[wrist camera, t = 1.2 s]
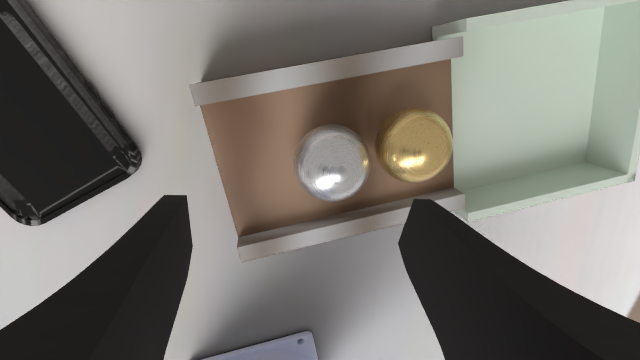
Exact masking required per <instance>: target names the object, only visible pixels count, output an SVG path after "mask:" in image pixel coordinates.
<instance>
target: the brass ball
mask: <svg viewBox="0 0 640 360" xmlns="http://www.w3.org/2000/svg"><path fill="white" fill-rule="evenodd" d="M452 150H453V138H452V134H451V131H450V129H449V127H448V125H447V124H446V122H445V121H444V120H443V119H442V118H441V117H440V116H439V115H437V114H436V113H434V112H432V111H430V110H427V109H424V108H407V109H403V110H400V111H398V112H396V113H394V114H392V115H391V116H390V117H388V118H387V119H386V120H385V121H384V123H383V124H382V125H381V127H380V129H379V131H378V133H377V136H376V140H375V152H376V156H377V159H378V162H379V164H380V165H381V167H382V168H383V169H384V171H385V172H386V173H387V174H389V175H390V176H391V177H393V178H395V179H397V180H399V181H403V182H407V183H419V182H423V181H427V180H429V179H431V178H433V177H435V176H436V175H438V174H439V173H440V172H441V171H442V170H443V169H444V168H445V166H446V165H447V164H448V162H449V160H450V157H451V154H452Z"/></svg>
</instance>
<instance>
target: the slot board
mask: <svg viewBox="0 0 640 360" xmlns="http://www.w3.org/2000/svg"><path fill="white" fill-rule="evenodd" d="M457 57H463V36H460V37H454V38H448V39H442V40H435V41H429V42H424V43H418V44H413V45H407V46H401V47H396V48H390V49H385V50H379V51H373V52H368V53H362V54H357V55H351V56H345V57H340V58H334V59H329V60H323V61H318V62H312V63H306V64H301V65H295V66H290V67H284V68H278V69H273V70H267V71H262V72H256V73H250V74H245V75H239V76H234V77H228V78H222V79H217V80H211V81H206V82H200V83H196V84H191V85H189V87H190V90H191V93H192V97H193V100H194V104H195V106H200V107H201V111H202V114H203V117H204V121H205V124H206V128H207V131H208V135H209V138H210V142H211V145H212V148H213V152H214V155H215V159H216V162H217V166H218V169H219V172H220V176H221V179H222V183H223V186H224V190H225V193H226V197H227V200H228V203H229V207H230V210H231V214H232V217H233V221H234V224H235V228H236V231H237V234H238V245H237V249H238V252H239V256H240V259H241V262H245V261H250V260H254V259H258V258H262V257H266V256H270V255H274V254H279V253H283V252H287V251H291V250H295V249H299V248H303V247H308V246H312V245H316V244H320V243H324V242H328V241H332V240H337V239H341V238H345V237H349V236H353V235H357V234H361V233H366V232H370V231H374V230H378V229H382V228H386V227H390V226H395V225H399V224H403V223H405V222H406V220H407V217H408V214H409V211H410V208H411V205H412V202H413V200H414V199H431V200H433V201H435V202H436V203H438V204H439V205H441V206H442V207H444V208H445V209H446V210H448V211H449V212H453V211H457V210H461V209H465V194H464V193H463V192H461V191H459V190H458V189H456V188H454V165H453V150H452V154H451V157H450V160H449V162H448V164H447V165H446V166H445V168H444V169H443V170H442V171H441V172H440V173H439V174H438V175H436V176H435V177H433V178H431V179H429V180H427V181H423V182H419V183H407V182H403V181H399V180H397V179H395V178H393V177H391V176H390V175H389V174H387V173H386V172H385V171H384V169H383V168H382V167H381V165H380V164H379V162H378V159H377V156H376V152H375V140H376V136H377V133H378V131H379V129H380V127H381V125H382V124H383V123H384V121H385V120H386V119H387V118H388V117H390V116H391V115H392V114H394V113H396V112H398V111H400V110H403V109H407V108H424V109H427V110H430V111H432V112H434V113H436V114H437V115H439V116H440V117H441V118H442V119H443V120H444V121H445V122H446V124H447V125H448V127H449V129H450V131H451V134H452V138H453V123H452V81H451V59H452V58H457ZM328 124H336V125H341V126H345V127H347V128H350V129H351V130H353V131H354V132H356V133H357V134H358V135H359V136H360V137H361V138H362V139H363V141H364V142H365V144H366V146H367V148H368V151H369V154H370V171H369V175H368V178H367V180H366V182H365V183H364V185H363V186H362V187H361V189H360V190H359V191H358V192H356V193H355V194H354V195H352V196H351V197H349V198H346V199H344V200H340V201H324V200H320V199H317V198H315V197H313V196H311V195H310V194H308V193H307V192H306V191H305V190H304V189H303V188H302V187H301V185H300V184H299V182H298V180H297V178H296V176H295V172H294V166H293V159H294V153H295V150H296V148H297V145H298V144H299V142H300V140H301V139H302V138H303V137H304V136H305V135H306V134H307V133H308V132H309V131H311V130H313V129H314V128H317V127H319V126H323V125H328Z"/></svg>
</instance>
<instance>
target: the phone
mask: <svg viewBox="0 0 640 360" xmlns="http://www.w3.org/2000/svg"><path fill="white" fill-rule="evenodd" d="M141 161H142V158H141V153H140V151H139V149H138V148H137V146H136V145H135V144H134V142H133V141H132V140H131V138H130V137H129V136H128V134H127V133H126V132H125V130H124V129H123V128H122V126H121V125H120V124H119V123H118V121H117V120H116V119H115V117H114V115H113V114H112V113H111V111H110V110H109V109H108V107H107V106H106V105H105V103H104V102H102V100H101V99H100V98H99V95H98V94H97V92H96V91H95V90H94V88H93V87H92V86H91V84H90V83H89V82H87V81H86V79H85V78H84V77H83V75H82V74H81V73H80V71H79V70H78V69H77V67H76V66H75V65H74V64H73V62H72V61H71V60H70V58H69V57H68V56H67V54H66V53H65V52H64V50H63V49H62V48H61V46H60V45H59V44H58V43H57V41H56V40H55V39H54V37H53V36H52V35H51V33H50V32H49V31H48V29H47V28H46V27H45V25H44V24H43V23H42V22H41V20H40V19H39V18H38V16H37V15H36V14H35V12H34V11H33V10H32V8H31V7H30V6H29V4H28V3H27V2H26V0H0V207H1V208H2V209H3V210H4V211H5V212H6V213H8V214H9V215H10V216H11V217H12V218H13V219H14V220H16V221H17V222H19V223H22V224H24V225H29V226H38V225H41V224H44V223H46V222H48V221H50V220H52V219H54V218H56V217H57V216H59V215H61V214H63V213H65V212H67V211H68V210H70V209H72V208H74V207H76V206H78V205H79V204H81V203H83V202H85V201H87V200H88V199H90V198H92V197H94V196H96V195H98V194H99V193H101V192H103V191H105V190H107V189H109V188H110V187H112V186H114V185H116V184H118V183H120V182H121V181H123V180H125V179H127V178H129V177H130V176H131V175H132V174H134V173H135V172H136V171H137V170H138V169H139V167H140V165H141Z"/></svg>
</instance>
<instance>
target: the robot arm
mask: <svg viewBox="0 0 640 360" xmlns="http://www.w3.org/2000/svg"><path fill="white" fill-rule="evenodd" d="M398 245H399V248H400V252H401V255H402V259H403V262H404V265H405V268H406V271H407V273H408V275H409V278H410V280H411V282H412V284H413V286H414V289H415V291H416V293H417V295H418V297H419V299H420V302H421V304H422V306H423V308H424V310H425V312H426V314H427V317H428V319H429V321H430V323H431V325H432V327H433V329H434V332H435V334H436V336H437V339H438V341H439V344H440V346H441V349H442V352H443V355H444V358H445V360H640V323H638V322H636V321H634V320H631V319H629V318H627V317H625V316H622V315H620V314H618V313H616V312H614V311H612V310H610V309H607V308H605V307H603V306H601V305H599V304H597V303H595V302H593V301H591V300H589V299H587V298H585V297H583V296H581V295H579V294H577V293H575V292H573V291H571V290H569V289H568V288H566V287H564V286H562V285H560V284H558V283H557V282H555V281H553V280H551V279H550V278H548V277H546V276H544V275H543V274H541V273H539V272H537V271H536V270H534V269H532V268H531V267H529V266H527V265H526V264H524V263H523V262H521V261H519V260H518V259H516V258H515V257H513V256H512V255H510V254H509V253H507V252H506V251H504V250H503V249H501V248H500V247H498V246H497V245H495V244H494V243H492V242H491V241H490V240H488V239H487V238H485V237H484V236H482V235H481V234H480V233H478V232H477V231H475V230H474V229H473V228H471V227H470V226H469V225H467V224H466V223H464V222H463V221H462V220H460V219H459V218H458V217H456V216H455V215H453V214H452V213H451V212H449V211H448V210H446V209H445V208H444V207H442V206H441V205H439V204H438V203H436V202H435V201H433V200H431V199H414V200H413V202H412V205H411V208H410V211H409V214H408V217H407V220H406V222H405V225H404V228H403V231H402V234H401V237H400V240H399V242H398ZM192 247H193V246H192V237H191V229H190V220H189V212H188V203H187V195H164V196H163V197H162V198H161V199H160V200H159V201H158V202H157V203H156V204H155V205H154V206H153V207H152V208H151V209H150V210H149V211H148V212H147V213H146V214H145V215H144V216H143V217H142V218H141V219H140V220H139V221H138V222H137V223H136V224H135V225H134V226H133V227H131V228H130V229H129V230H128V231H127V232H126V233H125V234H124V235H123V236H122V237H121V238H120V239H119V240H118V241H117V242H116V243H115V244H113V245H112V246H111V247H110V248H109V249H108V250H107V251H106V252H104V253H103V254H102V255H101V256H100V257H99V258H97V259H96V260H95V261H94V262H93V263H92V264H90V265H89V266H88V267H87V268H86V269H85V270H83V271H82V272H81V273H80V274H78V275H77V276H76V277H75V278H73V279H72V280H71V281H70V282H68V283H67V284H66V285H65V286H63V287H62V288H61V289H59V290H58V291H57V292H55V293H54V294H52V295H51V296H50V297H48V298H47V299H46V300H44V301H43V302H42V303H40V304H39V305H37V306H36V307H34V308H33V309H31V310H30V311H28V312H27V313H25V314H24V315H22V316H21V317H19V318H18V319H16V320H15V321H13V322H12V323H10V324H9V325H7V326H6V327H4V328H3V329H1V330H0V360H163V359H164V355H165V351H166V348H167V344H168V341H169V338H170V334H171V331H172V328H173V324H174V321H175V318H176V314H177V311H178V308H179V304H180V301H181V298H182V294H183V291H184V287H185V284H186V280H187V277H188V271H189V265H190V259H191V253H192ZM299 339H302V340H299ZM202 360H318V357H317V352H316V348H315V343H314V339H313V335H312V333H311V332H309V331H305V332H301V333H298V334H294V335H290V336H287V337H283V338H279V339H276V340H272V341H268V342H264V343H261V344H257V345H253V346H250V347H246V348H242V349H239V350H235V351H231V352H227V353H224V354H220V355H216V356H213V357H209V358H205V359H202Z"/></svg>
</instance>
